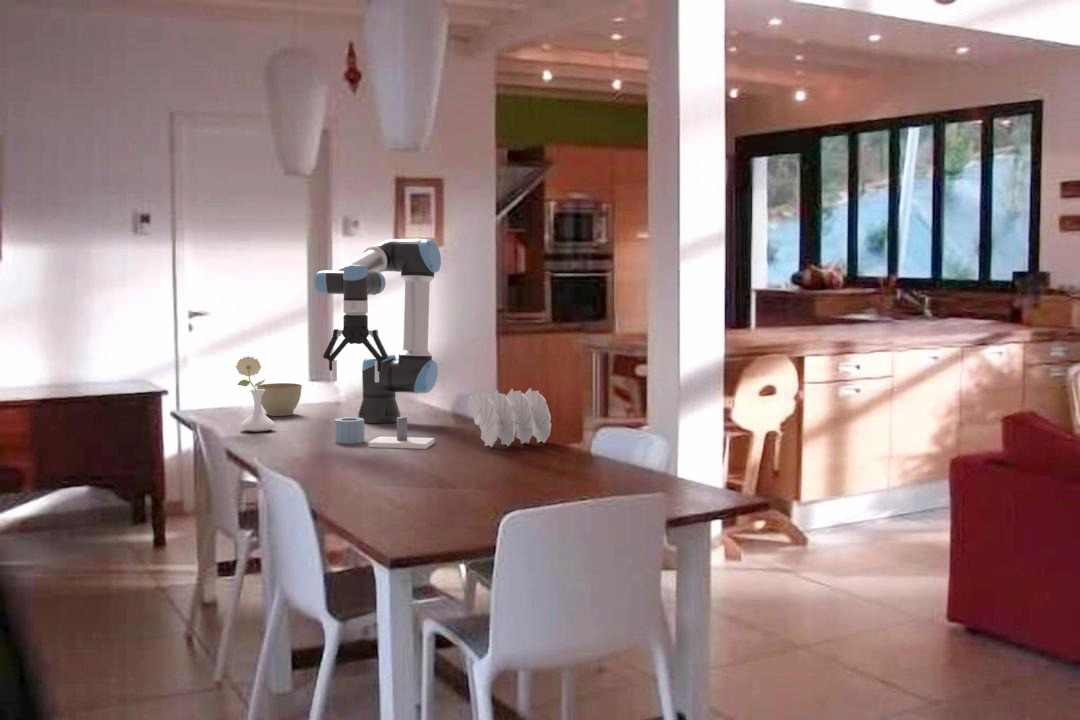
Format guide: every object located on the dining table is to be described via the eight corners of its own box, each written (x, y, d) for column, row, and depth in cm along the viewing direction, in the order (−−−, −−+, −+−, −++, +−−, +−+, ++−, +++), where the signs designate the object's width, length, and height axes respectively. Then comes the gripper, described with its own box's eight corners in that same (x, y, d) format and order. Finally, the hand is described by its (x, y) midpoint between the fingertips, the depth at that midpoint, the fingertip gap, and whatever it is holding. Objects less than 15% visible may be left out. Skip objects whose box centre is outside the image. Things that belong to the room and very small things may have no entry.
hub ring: (339, 438, 380) (339, 417, 379) (367, 439, 379) (367, 417, 378) (331, 443, 371) (331, 420, 371) (359, 443, 370) (359, 421, 369)
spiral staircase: (552, 456, 373) (481, 459, 361) (529, 426, 386) (460, 427, 374) (568, 407, 365) (495, 408, 353) (543, 378, 378) (473, 377, 366)
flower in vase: (280, 429, 401) (279, 355, 398) (269, 434, 389) (268, 358, 387) (242, 428, 402) (241, 354, 400) (230, 433, 391) (229, 357, 388)
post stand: (378, 441, 376) (378, 414, 375) (434, 442, 374) (434, 415, 373) (368, 447, 364) (368, 419, 363) (426, 448, 362) (426, 421, 361)
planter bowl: (253, 413, 440) (252, 384, 439) (296, 411, 446) (296, 382, 446) (262, 418, 425) (261, 388, 424) (306, 416, 432) (306, 386, 431)
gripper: (313, 314, 369) (313, 381, 371) (392, 315, 367) (392, 383, 368) (319, 313, 376) (320, 379, 378) (397, 314, 374) (397, 381, 376)
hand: (355, 381), depth 373 cm, fingers open, 13 cm apart
